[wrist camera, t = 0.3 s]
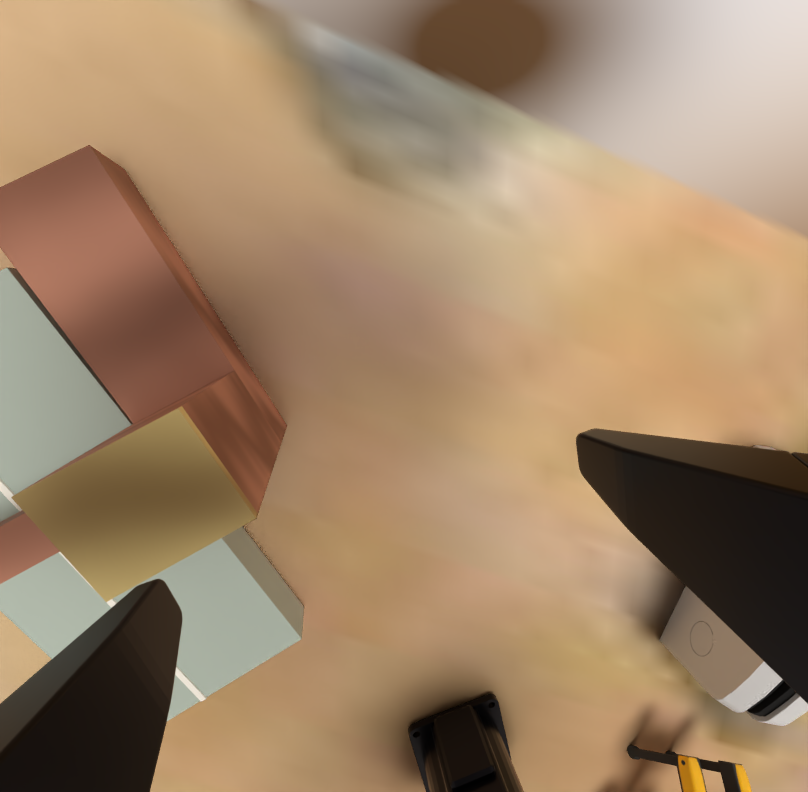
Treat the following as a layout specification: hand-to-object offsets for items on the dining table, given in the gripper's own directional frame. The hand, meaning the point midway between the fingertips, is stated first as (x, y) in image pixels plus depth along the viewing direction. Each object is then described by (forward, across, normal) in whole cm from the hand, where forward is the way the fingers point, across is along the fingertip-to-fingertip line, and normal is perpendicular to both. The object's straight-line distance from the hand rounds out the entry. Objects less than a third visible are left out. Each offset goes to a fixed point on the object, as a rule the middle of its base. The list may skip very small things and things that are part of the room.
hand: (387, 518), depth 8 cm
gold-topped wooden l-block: (+15, +11, -3) cm, 19 cm away
